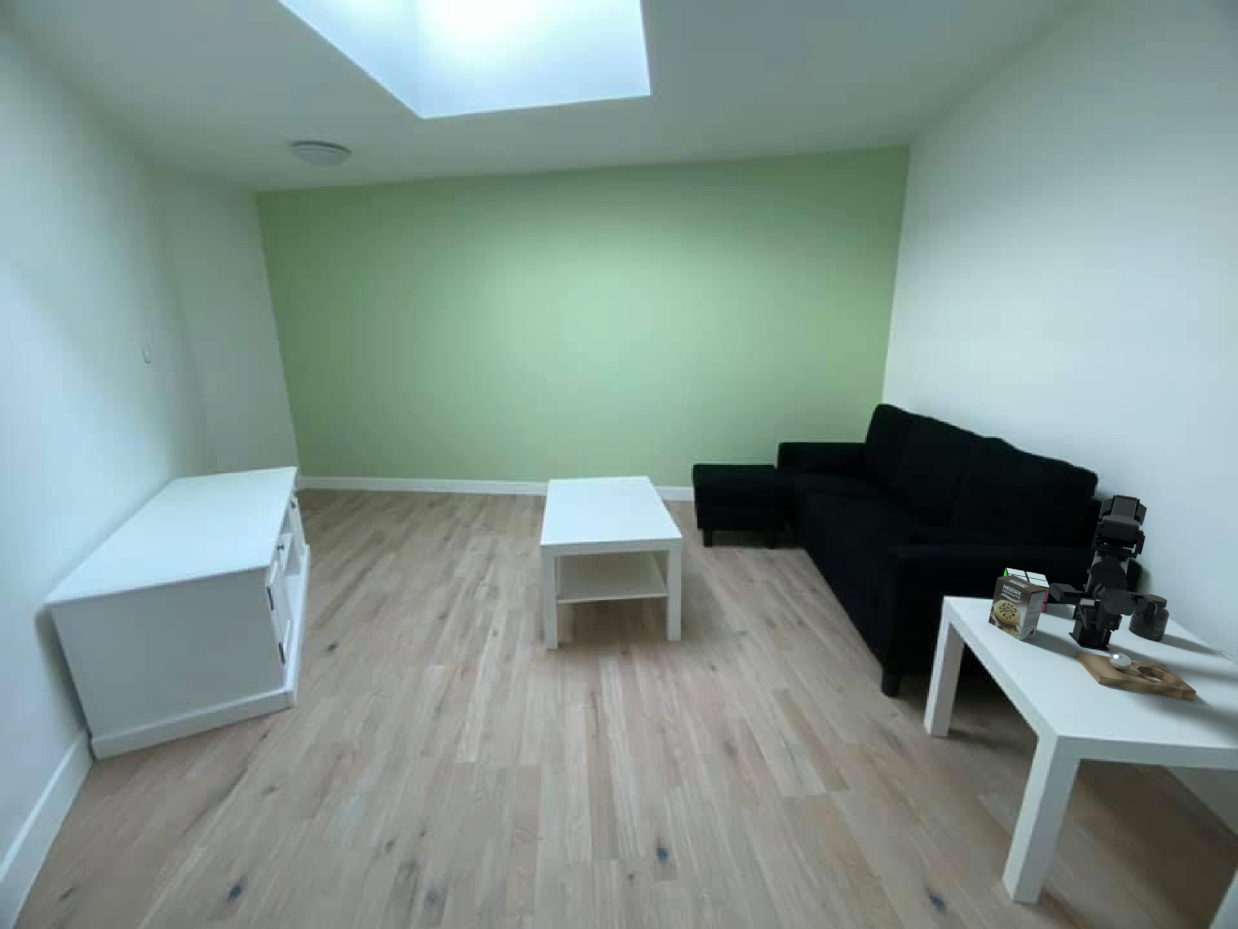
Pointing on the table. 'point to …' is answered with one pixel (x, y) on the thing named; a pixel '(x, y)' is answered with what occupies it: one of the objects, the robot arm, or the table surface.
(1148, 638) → the supplement bottle
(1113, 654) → the ball
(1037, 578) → the puzzle cube
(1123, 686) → the tan hexagonal hole board
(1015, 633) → the coffee box
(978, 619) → the table surface
